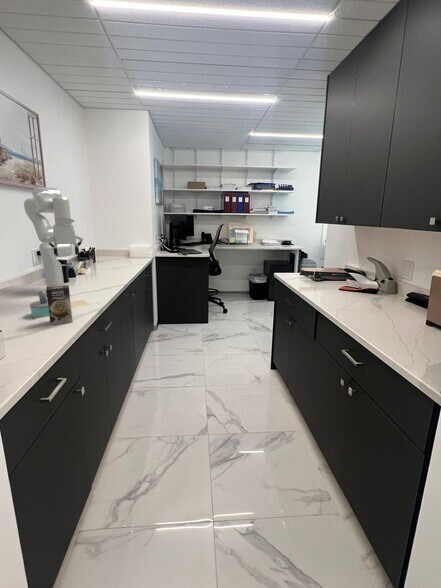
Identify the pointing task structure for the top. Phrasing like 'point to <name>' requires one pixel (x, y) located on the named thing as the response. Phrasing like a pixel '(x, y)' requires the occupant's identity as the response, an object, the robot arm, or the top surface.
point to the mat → (78, 303)
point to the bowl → (39, 312)
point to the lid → (42, 302)
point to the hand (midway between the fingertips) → (66, 255)
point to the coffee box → (59, 304)
